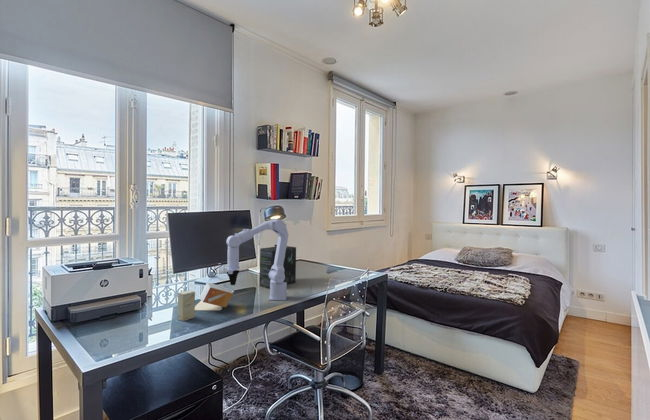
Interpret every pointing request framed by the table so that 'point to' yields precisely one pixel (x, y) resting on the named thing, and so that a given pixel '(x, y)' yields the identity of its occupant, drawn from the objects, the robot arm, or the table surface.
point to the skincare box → (186, 305)
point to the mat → (206, 307)
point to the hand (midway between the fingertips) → (233, 284)
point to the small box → (216, 295)
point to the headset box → (268, 260)
